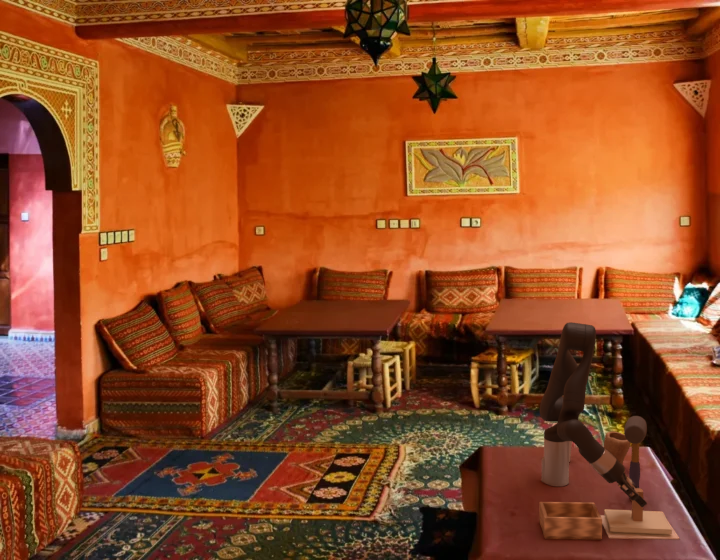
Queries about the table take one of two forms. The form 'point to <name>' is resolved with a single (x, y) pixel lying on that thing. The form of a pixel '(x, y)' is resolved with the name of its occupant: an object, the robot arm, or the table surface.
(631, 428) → the rubber mallet
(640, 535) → the mat
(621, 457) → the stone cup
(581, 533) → the wooden box
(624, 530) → the lid
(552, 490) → the table surface
